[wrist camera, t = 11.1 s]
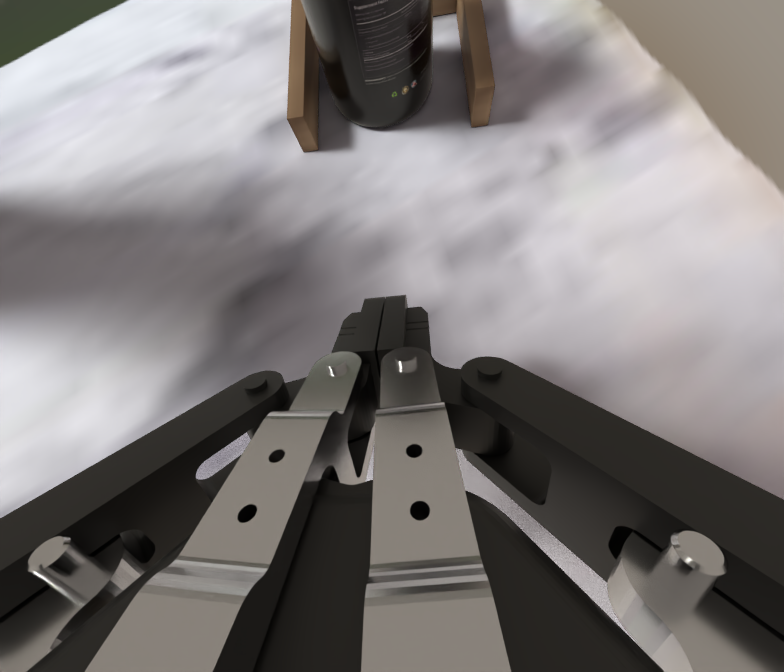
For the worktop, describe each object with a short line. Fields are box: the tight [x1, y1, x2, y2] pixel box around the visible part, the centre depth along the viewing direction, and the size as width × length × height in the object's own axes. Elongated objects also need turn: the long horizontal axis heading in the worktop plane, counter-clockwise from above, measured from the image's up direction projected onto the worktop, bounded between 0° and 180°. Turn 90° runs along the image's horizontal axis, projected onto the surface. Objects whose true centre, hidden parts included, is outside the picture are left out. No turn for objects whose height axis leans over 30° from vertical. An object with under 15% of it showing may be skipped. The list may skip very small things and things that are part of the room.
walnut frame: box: [287, 0, 495, 152], centre depth 21 cm, size 12×11×2 cm
